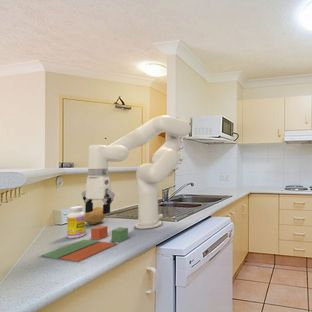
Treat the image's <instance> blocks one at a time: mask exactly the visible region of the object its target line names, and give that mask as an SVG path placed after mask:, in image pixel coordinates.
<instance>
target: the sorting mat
mask: <svg viewBox="0 0 312 312" xmlns="http://www.w3.org/2000/svg"><path fill="white" fill-rule="evenodd" d="M116 245H117V242H116V243H114V242H106V241H99V240H98V241H97V240H88V239H82V240H80V241H76V242H74V243H71V244H68V245H65V246H63V247H61V248H60V247H59V248H58V249H55V250H52V251H49V252H46V253H44V254H42V255H41V257H43V258H44V257H45V258H51V259H58V260H63V261H64V260H65V261H70V262H77V263H79V262H81V261H83V260H85V259H87V258H90V257H92V256H95V255H96V254H98V253H100V252H103V251H105V250H107V249H109V248H112V247H114V246H116Z"/></svg>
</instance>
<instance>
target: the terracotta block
mask: <svg viewBox="0 0 312 312" xmlns="http://www.w3.org/2000/svg"><path fill="white" fill-rule="evenodd" d="M108 229H109V228H108V225H97V226H95V227H91V228H90V239H91V240H98V241H99V240H102V239H105V238H107V237H108V233H109V232H108Z"/></svg>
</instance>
